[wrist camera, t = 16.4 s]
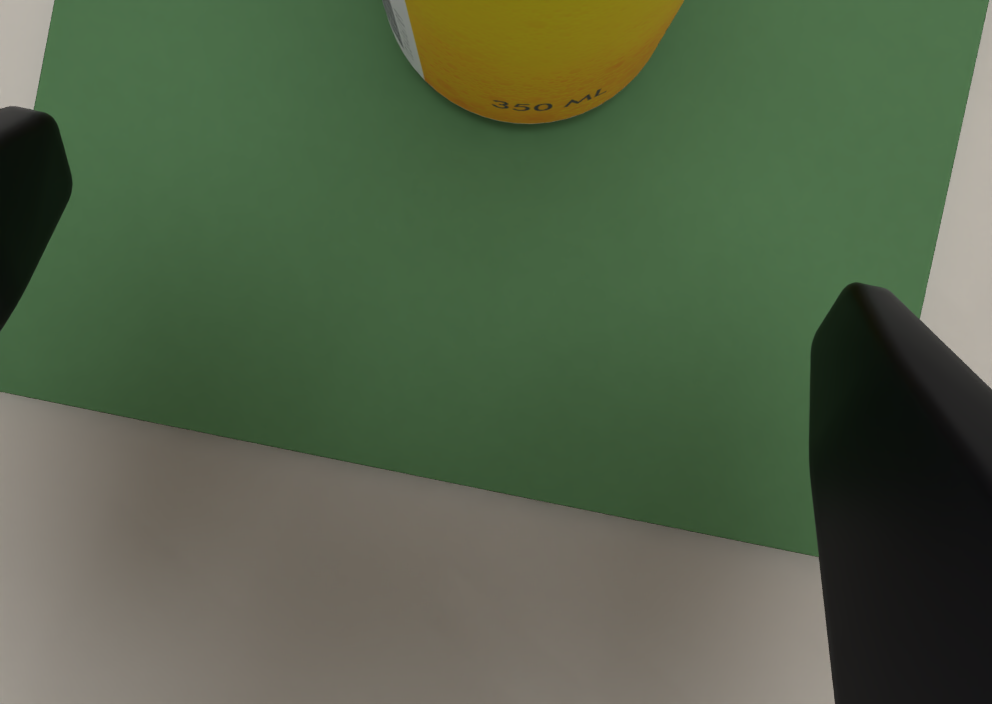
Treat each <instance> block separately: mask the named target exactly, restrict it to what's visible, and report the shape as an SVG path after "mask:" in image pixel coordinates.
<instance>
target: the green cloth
mask: <svg viewBox="0 0 992 704" xmlns="http://www.w3.org/2000/svg"><path fill="white" fill-rule="evenodd" d="M988 2H989V0H684V2H683V4H682V5H681V7H680V9H679V10H678V12H677V14H676V15H675V17H674V19H673V20H672V22H671V24H670V26H669V27H668V29H667V31H666V32H665V34H664V36H663V37H662V39H661V41H660V42H659V44H658V46H657V47H656V49H655V51H654V52H653V54H652V56H651V57H650V59H649V60H648V62H647V63H646V64H645V66H644V67H643V68H642V70H641V71H640V72H639V73H638V75H637V76H636V77H635V78H634V79H633V80H632V81H631V82H630V83H629V84H628V85H627V86H626V87H625V88H623V89H622V90H621V91H620V92H618V93H617V94H616V95H615V96H613V97H612V98H611V99H609V100H607V101H606V102H604V103H602V104H601V105H599V106H598V107H595V108H593V109H591V110H589V111H587V112H585V113H583V114H580V115H577V116H574V117H571V118H568V119H564V120H559V121H555V122H550V123H539V124H516V123H509V122H502V121H497V120H493V119H490V118H486V117H482V116H480V115H477V114H475V113H472V112H470V111H467V110H465V109H463V108H462V107H460V106H458V105H456V104H454V103H452V102H451V101H449V100H448V99H447V98H445V97H444V96H442V95H441V94H439V93H438V92H437V91H436V90H435V89H434V88H432V87H431V86H430V85H429V84H428V83H427V82H426V81H425V80H424V79H423V78H422V77H421V76H420V75H419V74H418V72H417V71H416V70H415V69H414V68H413V66H412V65H411V64H410V62H409V61H408V59H407V58H406V56H405V55H404V53H403V52H402V50H401V48H400V46H399V44H398V42H397V40H396V38H395V36H394V33H393V31H392V28H391V26H390V23H389V21H388V17H387V14H386V11H385V8H384V5H383V2H382V0H55V1H54V7H53V12H52V17H51V22H50V28H49V33H48V38H47V43H46V48H45V54H44V59H43V64H42V69H41V75H40V80H39V85H38V90H37V96H36V101H35V106H34V110H36V111H40V112H45V113H48V114H49V115H50V116H52V117H53V118H54V119H55V121H56V122H57V124H58V127H59V130H60V134H61V137H62V141H63V145H64V148H65V152H66V156H67V159H68V163H69V167H70V170H71V174H72V182H73V186H72V193H71V196H70V199H69V201H68V203H67V205H66V208H65V210H64V212H63V214H62V216H61V218H60V220H59V222H58V224H57V226H56V228H55V230H54V232H53V234H52V236H51V238H50V240H49V243H48V245H47V247H46V249H45V251H44V253H43V255H42V257H41V259H40V261H39V263H38V265H37V267H36V269H35V271H34V273H33V275H32V278H31V280H30V282H29V284H28V286H27V288H26V289H25V291H24V293H23V295H22V297H21V299H20V301H19V302H18V304H17V306H16V307H15V309H14V311H13V312H12V314H11V316H10V317H9V319H8V320H7V322H6V324H5V325H4V327H3V328H2V330H1V331H0V392H5V393H10V394H15V395H20V396H25V397H29V398H34V399H39V400H44V401H49V402H54V403H59V404H64V405H69V406H74V407H79V408H84V409H89V410H94V411H99V412H104V413H109V414H114V415H119V416H124V417H128V418H133V419H138V420H143V421H148V422H153V423H158V424H163V425H168V426H173V427H178V428H183V429H188V430H193V431H198V432H203V433H208V434H213V435H218V436H222V437H227V438H232V439H237V440H242V441H247V442H252V443H257V444H262V445H267V446H272V447H277V448H282V449H287V450H292V451H297V452H302V453H307V454H312V455H316V456H321V457H326V458H331V459H336V460H341V461H346V462H351V463H356V464H361V465H366V466H371V467H376V468H381V469H386V470H391V471H396V472H401V473H406V474H410V475H415V476H420V477H425V478H430V479H435V480H440V481H445V482H450V483H455V484H460V485H465V486H470V487H475V488H480V489H485V490H490V491H495V492H500V493H504V494H509V495H514V496H519V497H524V498H529V499H534V500H539V501H544V502H549V503H554V504H559V505H564V506H569V507H574V508H579V509H584V510H589V511H594V512H598V513H603V514H608V515H613V516H618V517H623V518H628V519H633V520H638V521H643V522H648V523H653V524H658V525H663V526H668V527H673V528H678V529H683V530H688V531H692V532H697V533H702V534H707V535H712V536H717V537H722V538H727V539H732V540H737V541H742V542H747V543H752V544H757V545H762V546H767V547H772V548H777V549H782V550H786V551H791V552H796V553H801V554H806V555H811V556H816V557H819V553H818V544H817V535H816V526H815V517H814V508H813V499H812V490H811V481H810V468H809V409H810V353H811V345H812V341H813V338H814V336H815V333H816V331H817V330H818V328H819V326H820V325H821V323H822V322H823V320H824V318H825V317H826V315H827V314H828V312H829V311H830V309H831V307H832V306H833V304H834V303H835V301H836V299H837V298H838V296H839V295H840V293H841V292H842V290H843V289H844V288H845V287H846V286H847V285H848V284H851V283H854V282H858V283H863V284H868V285H873V286H877V287H882V288H886V289H888V290H890V291H891V292H892V293H893V294H894V295H895V296H896V297H897V298H898V299H899V300H900V301H901V302H902V303H903V304H904V305H905V306H906V307H907V308H908V309H909V310H910V311H911V312H913V313H914V314H915V315H916V316H917V317H918V318H919V319H920V315H921V310H922V306H923V301H924V297H925V292H926V287H927V283H928V278H929V274H930V269H931V264H932V260H933V255H934V251H935V246H936V241H937V237H938V232H939V228H940V223H941V218H942V214H943V209H944V205H945V200H946V195H947V191H948V186H949V182H950V177H951V172H952V168H953V163H954V159H955V154H956V149H957V145H958V140H959V136H960V131H961V127H962V122H963V117H964V113H965V108H966V104H967V99H968V94H969V90H970V85H971V81H972V76H973V71H974V67H975V62H976V58H977V53H978V48H979V44H980V39H981V35H982V30H983V25H984V21H985V16H986V12H987V7H988Z"/></svg>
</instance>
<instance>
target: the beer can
mask: <svg viewBox="0 0 992 704" xmlns="http://www.w3.org/2000/svg"><path fill="white" fill-rule="evenodd" d="M382 2H383V5H384V8H385V11H386V14H387V17H388V21H389V23H390V26H391V28H392V31H393V33H394V36H395V38H396V40H397V42H398V44H399V46H400V48H401V50H402V52H403V53H404V55H405V56H406V58H407V59H408V61H409V62H410V64H411V65H412V66H413V68H414V69H415V70H416V71H417V72H418V74H419V75H420V76H421V77H422V78H423V79H424V80H425V81H426V82H427V83H428V84H429V85H430V86H431V87H432V88H434V89H435V90H436V91H437V92H438V93H439V94H441V95H442V96H444V97H445V98H447V99H448V100H449V101H451V102H452V103H454V104H456V105H458V106H460V107H462V108H463V109H465V110H467V111H470V112H472V113H475V114H477V115H480V116H482V117H486V118H490V119H493V120H497V121H502V122H509V123H516V124H539V123H550V122H555V121H559V120H564V119H568V118H571V117H574V116H577V115H580V114H583V113H585V112H587V111H589V110H591V109H593V108H595V107H598V106H599V105H601V104H602V103H604V102H606V101H607V100H609V99H611V98H612V97H613V96H615V95H616V94H617V93H618V92H620V91H621V90H622V89H623V88H625V87H626V86H627V85H628V84H629V83H630V82H631V81H632V80H633V79H634V78H635V77H636V76H637V75H638V73H639V72H640V71H641V70H642V68H643V67H644V66H645V64H646V63H647V62H648V60H649V59H650V57H651V56H652V54H653V52H654V51H655V49H656V47H657V46H658V44H659V42H660V41H661V39H662V37H663V36H664V34H665V32H666V31H667V29H668V27H669V26H670V24H671V22H672V20H673V19H674V17H675V15H676V14H677V12H678V10H679V9H680V7H681V5H682V4H683V2H684V0H382Z"/></svg>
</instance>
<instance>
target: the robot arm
mask: <svg viewBox="0 0 992 704" xmlns="http://www.w3.org/2000/svg"><path fill="white" fill-rule="evenodd" d="M72 186H73V182H72V174H71V170H70V167H69V163H68V159H67V156H66V152H65V148H64V145H63V141H62V137H61V134H60V130H59V127H58V124H57V122H56V121H55V119H54V118H53V117H52V116H50V115H49V114H48V113H45V112H40V111H36V110H31V109H26V108H21V107H16V106H10V107H5V108H2V109H0V331H1V330H2V328H3V327H4V325H5V324H6V322H7V320H8V319H9V317H10V316H11V314H12V312H13V311H14V309H15V307H16V306H17V304H18V302H19V301H20V299H21V297H22V295H23V293H24V291H25V289H26V288H27V286H28V284H29V282H30V280H31V278H32V275H33V273H34V271H35V269H36V267H37V265H38V263H39V261H40V259H41V257H42V255H43V253H44V251H45V249H46V247H47V245H48V243H49V240H50V238H51V236H52V234H53V232H54V230H55V228H56V226H57V224H58V222H59V220H60V218H61V216H62V214H63V212H64V210H65V208H66V205H67V203H68V201H69V199H70V196H71V193H72ZM809 468H810V481H811V490H812V499H813V508H814V517H815V526H816V535H817V544H818V553H819V562H820V572H821V581H822V590H823V599H824V608H825V617H826V626H827V635H828V644H829V653H830V662H831V671H832V680H833V689H834V698H835V704H992V389H991V388H990V387H989V386H988V385H987V384H986V383H985V382H983V381H982V380H981V379H980V378H979V377H978V376H977V375H976V374H975V373H974V372H973V371H972V370H971V369H970V368H969V367H968V366H967V365H966V364H965V363H964V362H963V361H962V360H961V359H960V358H959V357H958V356H957V355H956V354H955V353H954V352H953V351H952V350H951V349H950V348H948V347H947V346H946V345H945V344H944V343H943V342H942V341H941V340H940V339H939V338H938V337H937V336H936V335H935V334H934V333H933V332H932V331H931V330H930V329H929V328H928V327H927V326H926V325H925V324H924V323H923V322H922V321H921V320H920V319H919V318H918V317H917V316H916V315H915V314H914V313H913V312H911V311H910V310H909V309H908V308H907V307H906V306H905V305H904V304H903V303H902V302H901V301H900V300H899V299H898V298H897V297H896V296H895V295H894V294H893V293H892V292H891V291H890V290H888V289H886V288H882V287H877V286H873V285H868V284H863V283H858V282H854V283H851V284H848V285H847V286H846V287H845V288H844V289H843V290H842V292H841V293H840V295H839V296H838V298H837V299H836V301H835V303H834V304H833V306H832V307H831V309H830V311H829V312H828V314H827V315H826V317H825V318H824V320H823V322H822V323H821V325H820V326H819V328H818V330H817V331H816V333H815V336H814V338H813V341H812V345H811V353H810V409H809Z"/></svg>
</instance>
